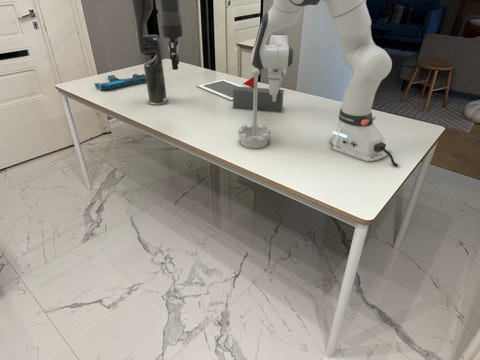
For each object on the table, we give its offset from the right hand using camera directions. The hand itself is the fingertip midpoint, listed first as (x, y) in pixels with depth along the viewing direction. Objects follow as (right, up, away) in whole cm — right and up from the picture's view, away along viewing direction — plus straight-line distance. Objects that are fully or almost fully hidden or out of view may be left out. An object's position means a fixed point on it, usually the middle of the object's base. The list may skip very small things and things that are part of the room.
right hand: (275, 98), depth 168 cm
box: (-9, -4, +5) cm, 11 cm away
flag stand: (-12, -25, -27) cm, 39 cm away
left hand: (-44, +6, -30) cm, 53 cm away
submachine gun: (-90, +20, +41) cm, 101 cm away
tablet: (-25, +12, +30) cm, 41 cm away
